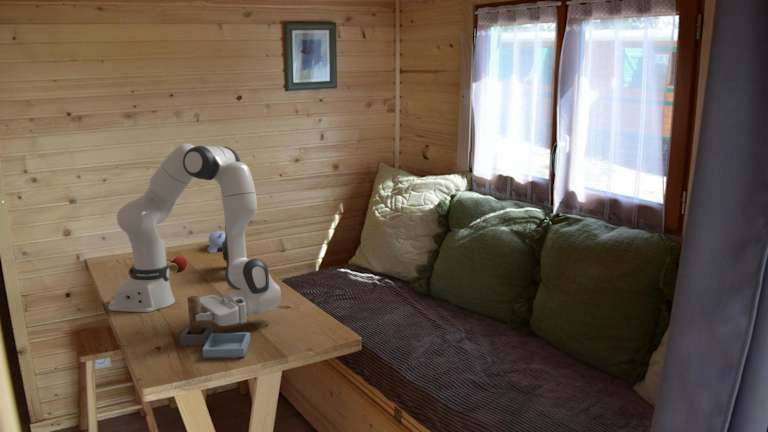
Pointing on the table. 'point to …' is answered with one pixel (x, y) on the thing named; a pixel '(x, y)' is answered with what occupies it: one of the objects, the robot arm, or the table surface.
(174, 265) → the kendama
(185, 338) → the socket block
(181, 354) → the table surface
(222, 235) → the hippopotamus toy
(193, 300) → the dowel
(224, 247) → the ceramic cat
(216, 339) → the tray
